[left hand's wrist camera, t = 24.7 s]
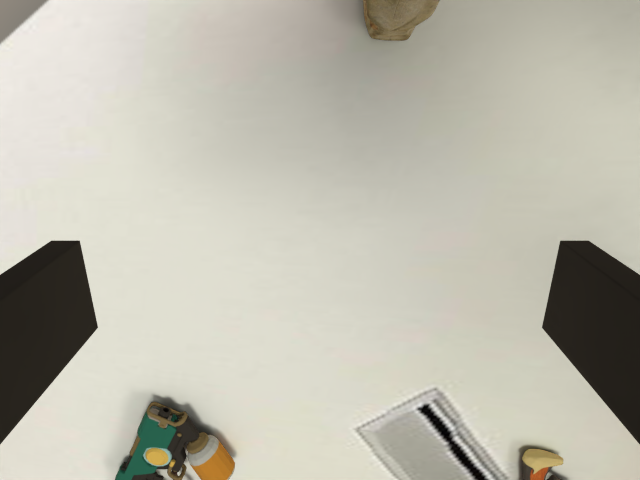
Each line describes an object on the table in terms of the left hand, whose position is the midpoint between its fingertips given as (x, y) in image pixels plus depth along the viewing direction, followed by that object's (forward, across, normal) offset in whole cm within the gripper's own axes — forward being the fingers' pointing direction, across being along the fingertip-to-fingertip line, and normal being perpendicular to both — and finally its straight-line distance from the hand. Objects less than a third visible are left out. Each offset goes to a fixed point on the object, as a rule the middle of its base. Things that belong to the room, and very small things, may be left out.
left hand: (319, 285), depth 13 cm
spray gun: (+33, -19, -42) cm, 57 cm away
